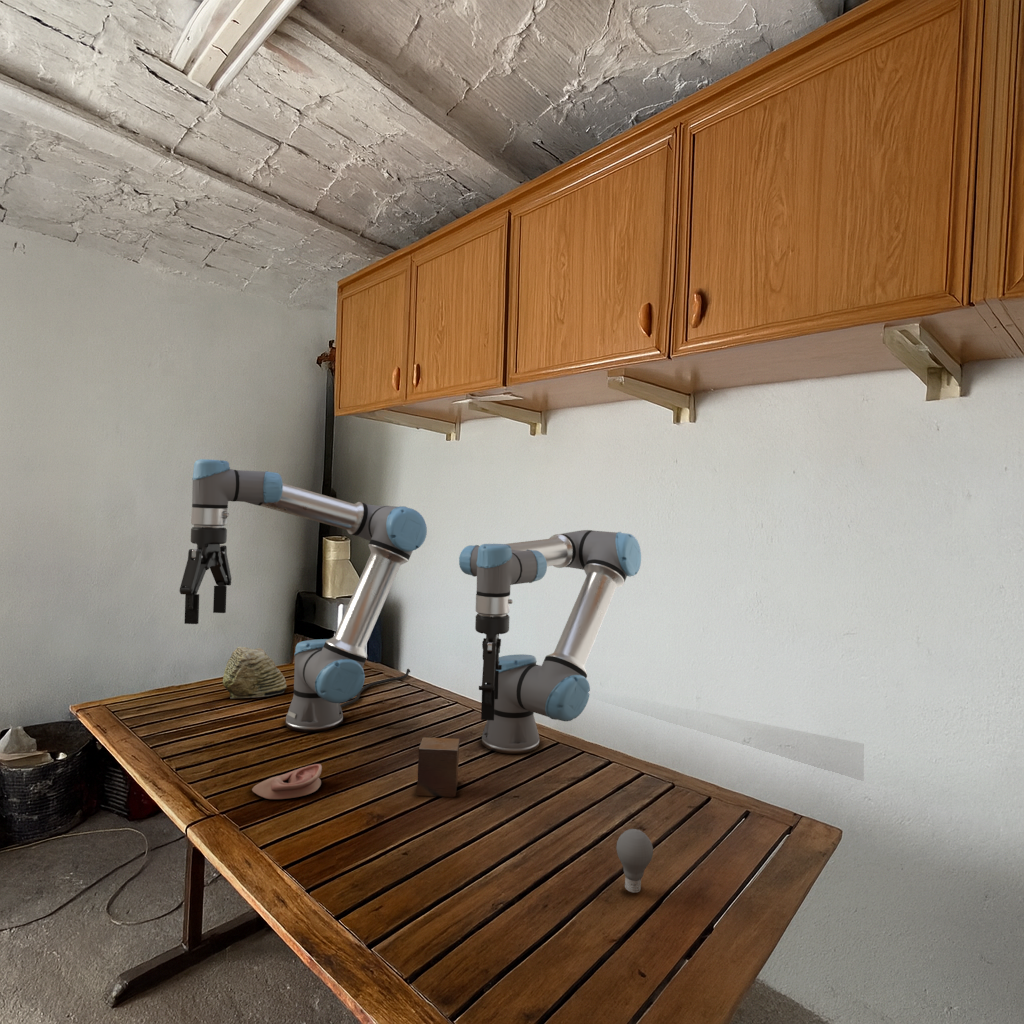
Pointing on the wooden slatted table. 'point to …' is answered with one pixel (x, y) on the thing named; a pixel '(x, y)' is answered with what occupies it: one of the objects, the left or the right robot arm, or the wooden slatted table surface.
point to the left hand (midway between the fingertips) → (206, 618)
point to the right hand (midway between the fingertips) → (489, 708)
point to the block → (438, 767)
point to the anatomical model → (291, 783)
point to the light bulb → (634, 857)
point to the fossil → (252, 674)
